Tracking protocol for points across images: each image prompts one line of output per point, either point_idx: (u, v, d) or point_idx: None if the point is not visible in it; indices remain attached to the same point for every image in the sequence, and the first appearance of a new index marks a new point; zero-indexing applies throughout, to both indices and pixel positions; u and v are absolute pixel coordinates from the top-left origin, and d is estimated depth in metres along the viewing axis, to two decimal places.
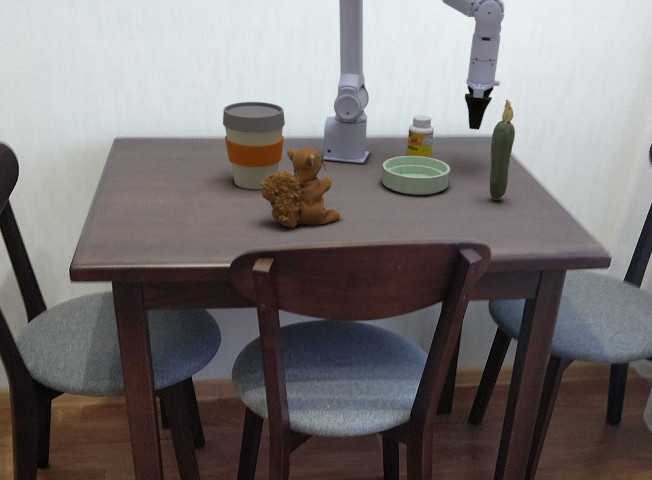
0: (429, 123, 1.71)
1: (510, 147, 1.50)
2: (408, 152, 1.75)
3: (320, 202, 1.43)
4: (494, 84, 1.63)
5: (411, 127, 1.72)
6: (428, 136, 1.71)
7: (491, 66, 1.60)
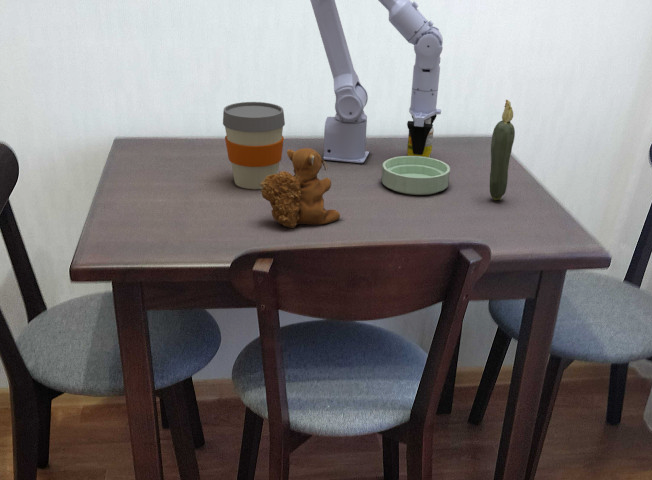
0: (429, 123, 1.71)
1: (510, 147, 1.50)
2: (408, 152, 1.75)
3: (320, 202, 1.43)
4: (435, 113, 1.69)
5: None
6: (428, 136, 1.72)
7: (431, 96, 1.67)
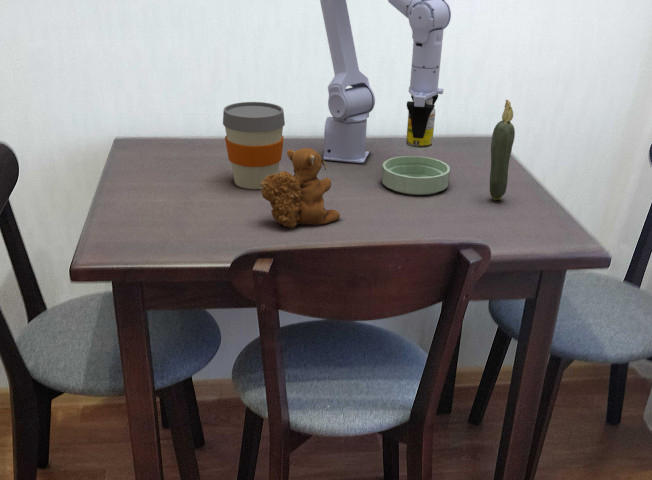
0: (430, 104, 1.58)
1: (510, 147, 1.50)
2: (408, 136, 1.62)
3: (320, 202, 1.43)
4: (437, 92, 1.56)
5: None
6: (429, 117, 1.58)
7: (433, 74, 1.53)
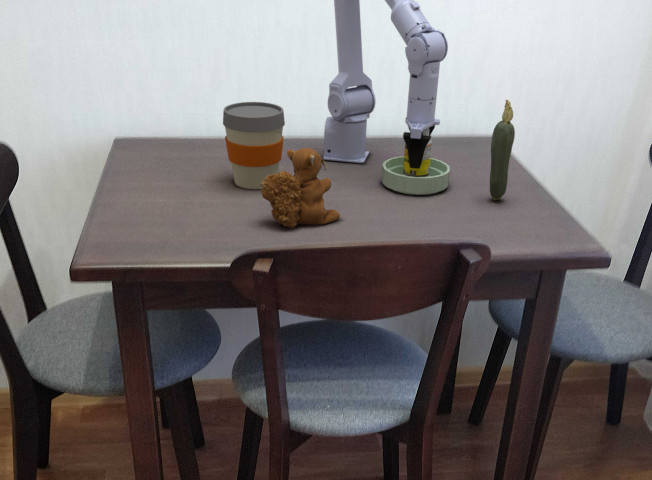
0: (427, 134, 1.58)
1: (510, 147, 1.50)
2: (404, 165, 1.62)
3: (320, 202, 1.43)
4: (434, 123, 1.56)
5: None
6: (426, 148, 1.58)
7: (429, 105, 1.53)
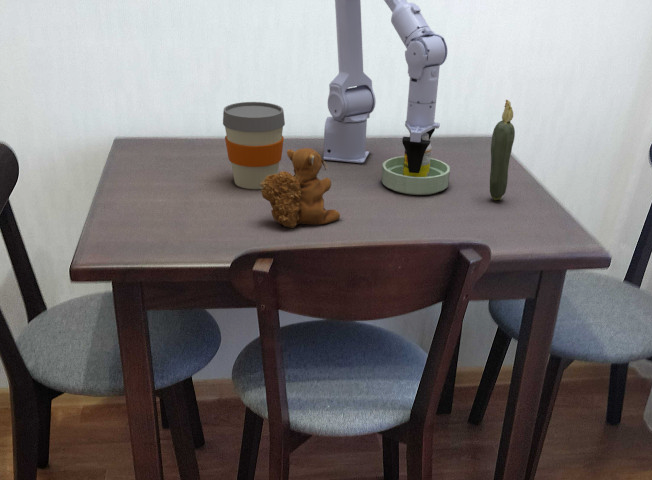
0: None
1: (510, 147, 1.50)
2: (404, 171, 1.62)
3: (320, 202, 1.43)
4: (433, 127, 1.56)
5: None
6: (425, 154, 1.59)
7: (429, 109, 1.54)
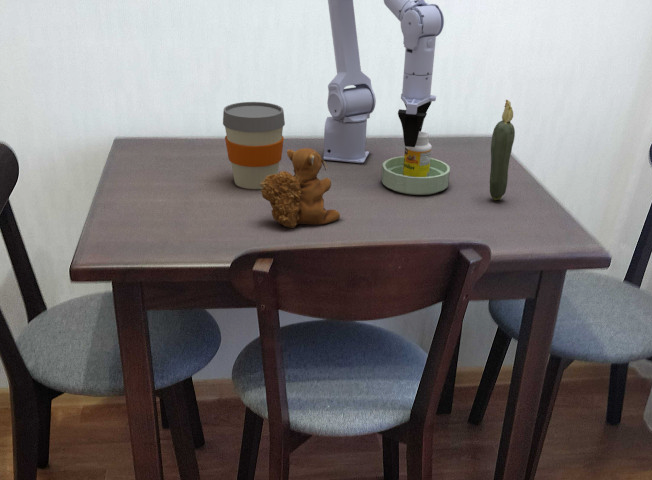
0: (427, 140, 1.58)
1: (510, 147, 1.50)
2: (404, 171, 1.62)
3: (320, 202, 1.43)
4: (430, 99, 1.54)
5: None
6: (425, 154, 1.59)
7: (425, 80, 1.51)
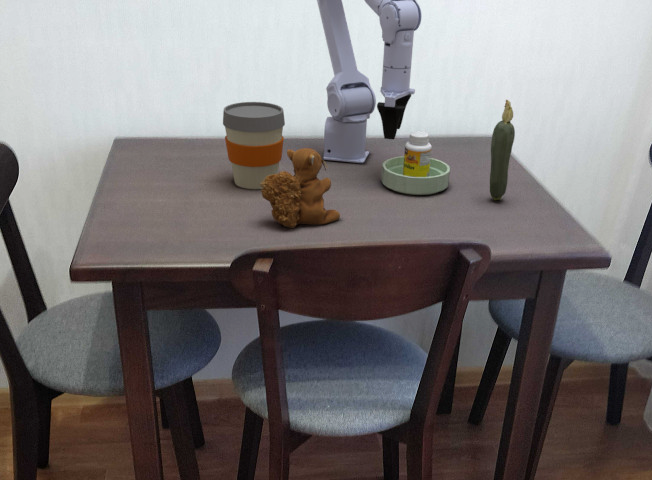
0: (427, 140, 1.58)
1: (510, 147, 1.50)
2: (404, 171, 1.62)
3: (320, 202, 1.43)
4: (408, 92, 1.57)
5: (407, 144, 1.59)
6: (425, 154, 1.59)
7: (404, 74, 1.54)
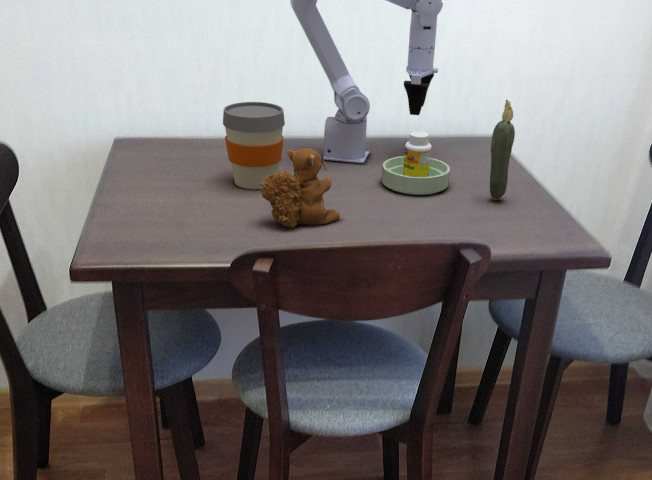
0: (427, 140, 1.58)
1: (510, 147, 1.50)
2: (404, 171, 1.62)
3: (320, 202, 1.43)
4: (432, 71, 1.70)
5: (407, 144, 1.59)
6: (425, 154, 1.59)
7: (428, 54, 1.67)
